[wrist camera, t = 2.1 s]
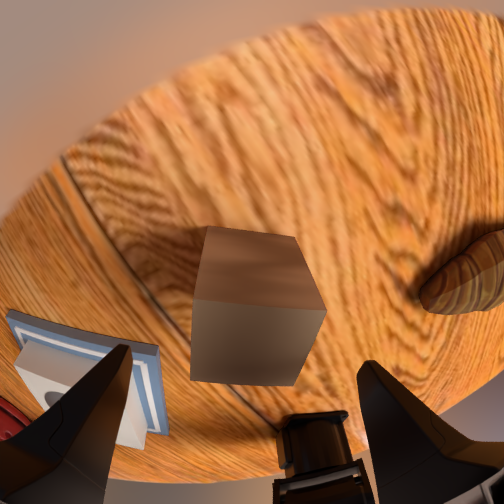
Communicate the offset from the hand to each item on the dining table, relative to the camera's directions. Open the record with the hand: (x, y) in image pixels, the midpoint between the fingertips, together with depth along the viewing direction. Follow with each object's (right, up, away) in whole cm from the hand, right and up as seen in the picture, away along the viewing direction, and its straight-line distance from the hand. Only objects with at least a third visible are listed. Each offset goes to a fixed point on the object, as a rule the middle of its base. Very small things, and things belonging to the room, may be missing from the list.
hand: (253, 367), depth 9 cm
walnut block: (0, +3, +6) cm, 7 cm away
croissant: (+18, +4, +7) cm, 20 cm away
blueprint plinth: (-15, -8, +11) cm, 20 cm away
